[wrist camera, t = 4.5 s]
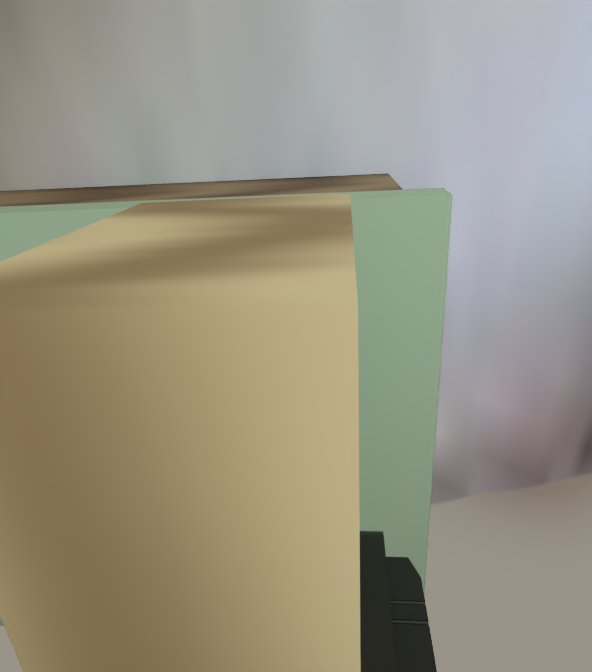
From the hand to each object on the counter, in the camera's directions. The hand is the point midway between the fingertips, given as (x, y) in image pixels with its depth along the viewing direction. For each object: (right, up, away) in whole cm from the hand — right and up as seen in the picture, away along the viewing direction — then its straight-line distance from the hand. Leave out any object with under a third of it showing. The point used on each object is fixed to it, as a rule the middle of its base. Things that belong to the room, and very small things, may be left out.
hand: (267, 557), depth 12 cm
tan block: (0, 0, +1) cm, 1 cm away
